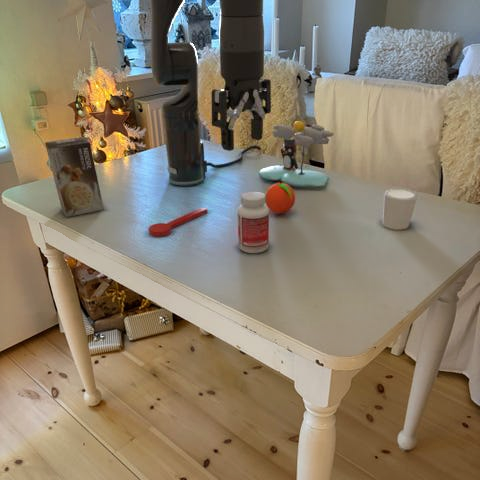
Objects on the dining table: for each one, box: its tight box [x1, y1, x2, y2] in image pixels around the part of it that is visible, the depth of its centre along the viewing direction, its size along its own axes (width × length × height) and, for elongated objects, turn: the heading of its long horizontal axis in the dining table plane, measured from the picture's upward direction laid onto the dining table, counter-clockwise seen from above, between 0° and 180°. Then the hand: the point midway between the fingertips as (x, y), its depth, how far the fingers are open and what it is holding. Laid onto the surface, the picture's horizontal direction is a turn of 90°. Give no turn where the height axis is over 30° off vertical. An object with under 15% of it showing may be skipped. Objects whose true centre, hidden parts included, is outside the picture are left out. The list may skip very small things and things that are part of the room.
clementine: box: [265, 182, 296, 214], centre depth 113 cm, size 8×7×7 cm
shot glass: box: [382, 188, 418, 231], centre depth 107 cm, size 7×7×7 cm
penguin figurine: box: [258, 120, 334, 189], centre depth 129 cm, size 20×11×15 cm, turn 53°
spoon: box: [148, 206, 209, 238], centre depth 111 cm, size 17×5×1 cm, turn 141°
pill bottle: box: [237, 191, 270, 254], centre depth 97 cm, size 6×6×11 cm
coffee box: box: [44, 136, 105, 218], centre depth 115 cm, size 9×6×16 cm
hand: (242, 144), depth 92 cm, fingers open, 8 cm apart
